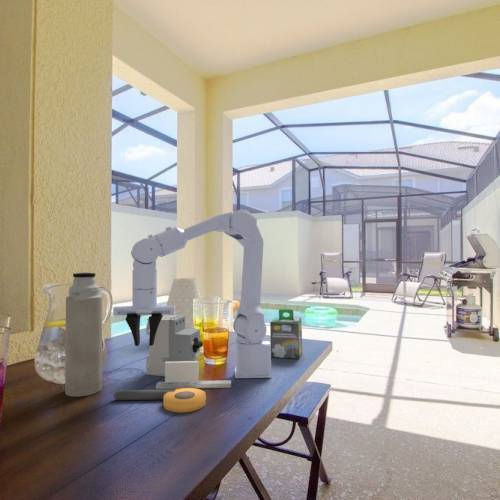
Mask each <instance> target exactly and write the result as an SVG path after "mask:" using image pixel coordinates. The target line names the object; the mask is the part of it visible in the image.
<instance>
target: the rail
mask: <svg viewBox="0 0 500 500" xmlns="http://www.w3.org/2000/svg"><path fill="white" fill-rule="evenodd" d="M155 384H156V385H155V390H176V389H182V388H195V389H231V388H232V379H231V380H225V379H224V380H222V379H221V380H198V382H166V383H165V381H157V383H155Z"/></svg>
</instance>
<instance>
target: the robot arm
mask: <svg viewBox="0 0 500 500" xmlns="http://www.w3.org/2000/svg"><path fill="white" fill-rule="evenodd" d="M212 232H218V233H221V232H223V233H224V234H225V235H227V236H229V237H231V238H233V239H234V240H236V241H237V242H238V243H239V244H240V245H241V246H242V247H243V258H242V271H241V272H242V275H241V276H242V278H241V291H240V305H239V306H238V308H237V310H236V315H235V316H236V317H235V318H234V320H233V323H232V328H233V332H234V333H235V334H236V338H235V348H236V349H235V364H236V365H235V367H234V379H266V378H267V379H270V378H272V359H271V358H272V357H271V340H264V338H265V337H266V334H267V325H266V322H265V313H264V311H263V309H262V308H261V293H262V278H263V275H262V274H263V255H264V239H263V236H262V234H261V231H260V229H259V227H258V223H257V218H256V217H255V216H254V215H253V214H252V213H251V212H249V211H248V210H246V209H238V210H235V211H233V212H232V211H230V212H226V213H222V214H218V215H215V216H214V215H213V216H212V217H210V218H207V219H205V220H203V221H200V222H198V223H195V224H193V225H190V226H189V227H186V228H184V229H183V228H179V227H176V226H174V227H172V226H171V225H170V226H168V227H165V230H164V231H161V232H159V233H156V234H149V235H147V238H142V239H140V240H138V241H137V242H135V243H134V244H133V246H132V249H131V251H130V255H131V257H132V259H133V261H132V267H133V269H132V275H131V277H132V280H131V281H132V290H131V291H132V296H131V297H132V298H131V299H132V305H128V306H127V305H125V306H124V305H123V306H114V307H113V309H112V312H113V313H112V314H113V315H112V316H113V317H114V316H126V317H125V322H126V324H127V325H128V327H129V330H130V332H131V335H132V337H133V341H134V342H133V343H134V347H136V346H137V347H138V346H139V345H140V344H141V334H140V331H141V330H140V328H141V327H140V326H141V316H147V315H148V316H149V317H148V319H149V326H150V330H149V332H150V335H149V345H150V346H152V345H153V344H154V340H155V335H156V332H157V329H158V326H159V323H160V321H161V319H162V317H163V315H174V314H175V306H166V305H157V304H158V303H157V301H158V300H157V298H158V294H157V293H158V288H157V287H158V281H157V280H158V273H157V271H158V270H157V260H158V258H159V257H161V258H162V257H166V256H168V255H170V254H173V253H175V252H177V251H180V250H182V249H184V248H185V247H186V246H187V245H186V244H187V242H188V241H190V240H193V239H195V238H198V237H201V236H203V235H206V234H209V233H212ZM149 345H148V346H149Z"/></svg>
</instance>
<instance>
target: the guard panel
mask: <svg viewBox="0 0 500 500" xmlns="http://www.w3.org/2000/svg"><path fill="white" fill-rule="evenodd" d="M198 381H199V360H194V361H177V362H165V376H164V382H165V383H166V382H198Z"/></svg>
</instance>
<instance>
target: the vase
mask: <svg viewBox="0 0 500 500" xmlns="http://www.w3.org/2000/svg"><path fill="white" fill-rule="evenodd" d="M172 280H173V281H172V285H171V288H170V291H169V295H168V298H167V301H166V305H165V306H175V314H174V315H182V316H185V329H194V328H193V327H194V324H193V299H194V298H202V294H201V292H200V287H199V285H198V281H197V278H193V277H192V278H190V277H189V278H187V277H185V278H183V277H181V278H179V277H178V278H173V279H172Z"/></svg>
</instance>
